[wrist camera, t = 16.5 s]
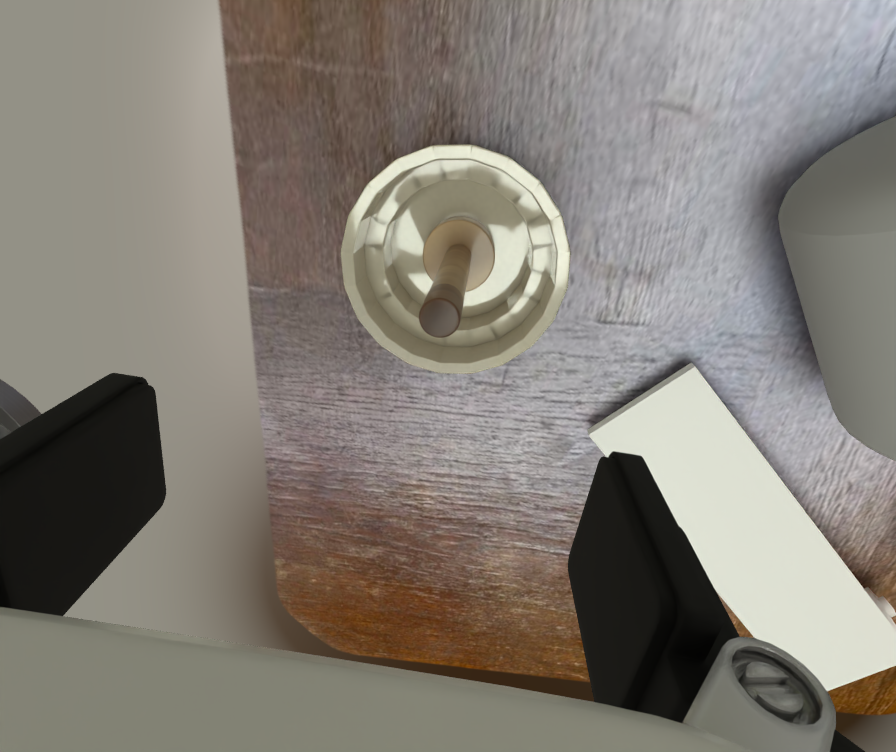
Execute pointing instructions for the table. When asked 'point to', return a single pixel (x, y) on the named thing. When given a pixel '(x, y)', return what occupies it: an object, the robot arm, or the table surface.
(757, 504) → the wall bracket
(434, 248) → the stirrer
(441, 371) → the bowl
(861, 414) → the jar
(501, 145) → the table surface
